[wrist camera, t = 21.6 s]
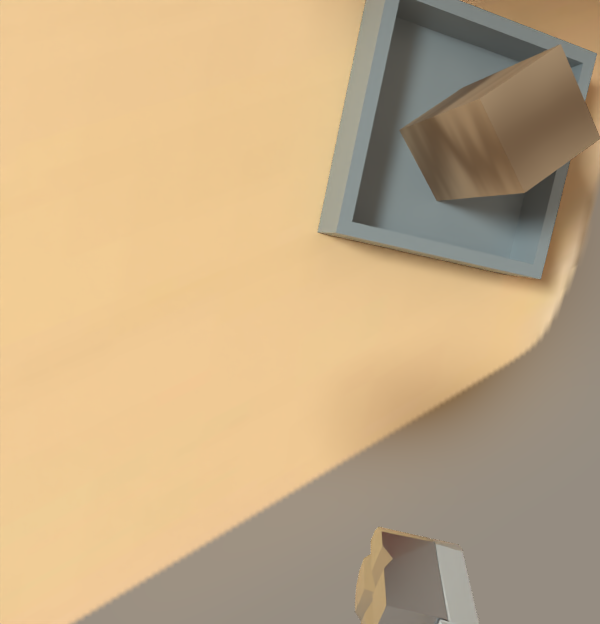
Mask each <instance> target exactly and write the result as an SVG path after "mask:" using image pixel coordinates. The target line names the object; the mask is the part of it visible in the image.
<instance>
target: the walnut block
mask: <svg viewBox="0 0 600 624" xmlns="http://www.w3.org/2000/svg"><path fill="white" fill-rule="evenodd" d="M399 131H400V132H401V134H402V136H403V138H404V140H405V142H406V144H407V146H408V148H409V150H410V151H411V153H412V155H413V157H414V159H415V161H416V163H417V165H418V167H419V168H420V170H421V172H422V174H423V176H424V178H425V180H426V182H427V184H428V185H429V187H430V189H431V191H432V193H433V195H434V197H435V199H436V201H441V200H452V199H463V198H474V197H485V196H496V195H507V194H518V193H525V192H527V191H528V190H529V189H531V188H532V187H534V186H535V185H536V184H538V183H539V182H541V181H542V180H543V179H545V178H546V177H548V176H549V175H550V174H552V173H553V172H555V171H556V170H557V169H559V168H560V167H562V166H563V165H564V164H566V163H567V162H569V161H570V160H571V159H573V158H574V157H575V156H577V155H578V154H580V153H581V152H582V151H584V150H585V149H587V148H588V147H589V146H591V145H592V144H594V143H595V142H596V141H598V140H599V139H600V136H599V134H598V131H597V129H596V127H595V124H594V122H593V119H592V117H591V115H590V112H589V110H588V107H587V105H586V103H585V100H584V98H583V96H582V93H581V91H580V88H579V86H578V84H577V81H576V79H575V77H574V74H573V72H572V69H571V67H570V65H569V62H568V60H567V57H566V55H565V53H564V50H563V48H562V46H561V44H560V45H557V46H555V47H553V48H551V49H548V50H546V51H544V52H542V53H539V54H537V55H535V56H533V57H530V58H528V59H526V60H524V61H521V62H519V63H517V64H515V65H512V66H510V67H508V68H506V69H503V70H501V71H499V72H497V73H494V74H492V75H490V76H488V77H485V78H483V79H481V80H479V81H476V82H474V83H472V84H470V85H467V86H465V87H463V88H461V89H460V90H458V91H457V92H455V93H454V94H452V95H451V96H449V97H448V98H446V99H445V100H443V101H442V102H440V103H439V104H437V105H436V106H434V107H433V108H431V109H430V110H428V111H427V112H425V113H424V114H422V115H421V116H419V117H418V118H416V119H415V120H413V121H412V122H410V123H409V124H407V125H406V126H404V127H403V128H401V129H400V130H399Z"/></svg>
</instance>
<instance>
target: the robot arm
mask: <svg viewBox="0 0 600 624" xmlns="http://www.w3.org/2000/svg"><path fill="white" fill-rule="evenodd" d="M355 613H356V614H357V616H358V618H359V619H360V621H361V624H479V620H478V616H477V611H476V607H475V602H474V599H473V594H472V590H471V585H470V581H469V576H468V572H467V568H466V564H465V559H464V555H463V550H462V549H461V547H460V546H459V545H458V544H454V543H449V542H445V541H440V540H436V539H430V538H427V537H422V536H418V535H413V534H409V533H404V532H399V531H395V530H390V529H386V528H382V527H378V528H377V529H376V530H375V532H374V535H373V537H372V539H371V554H370V555H368V556H367V557H365V558H364V559H363V562H362V565H361V568H360V571H359V575H358V581H357V585H356V595H355Z"/></svg>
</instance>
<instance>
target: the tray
mask: <svg viewBox="0 0 600 624" xmlns="http://www.w3.org/2000/svg"><path fill="white" fill-rule="evenodd" d="M560 44H561V46H562V48H563V50H564V53H565V55H566V57H567V60H568V62H569V65H570V67H571V69H572V72H573V74H574V77H575V79H576V81H577V84H578V86H579V88H580V91H581V93H582V96H583V98H584V100H586V96H587V92H588V88H589V84H590V79H591V75H592V71H593V67H594V63H595V59H596V55H597V53H594V52H592V51H589V50H587V49H584V48H581V47H579V46H576V45H574V44H571V43H568V42H566V41H563V40H561V39H558V38H555V37H553V36H550V35H548V34H545V33H543V32H540V31H537V30H535V29H532V28H530V27H527V26H524V25H522V24H519V23H517V22H514V21H511V20H509V19H506V18H504V17H501V16H498V15H496V14H493V13H491V12H488V11H486V10H483V9H480V8H478V7H475V6H473V5H470V4H467V3H465V2H462V1H460V0H366V2H365V7H364V11H363V16H362V21H361V26H360V31H359V35H358V40H357V45H356V50H355V55H354V59H353V64H352V69H351V74H350V79H349V83H348V88H347V93H346V98H345V103H344V108H343V112H342V117H341V122H340V127H339V132H338V136H337V141H336V146H335V151H334V156H333V160H332V165H331V170H330V175H329V180H328V184H327V189H326V194H325V199H324V204H323V208H322V213H321V218H320V223H319V228H318V233H323V234H327V235H332V236H336V237H341V238H345V239H350V240H354V241H358V242H363V243H367V244H372V245H376V246H381V247H385V248H390V249H394V250H398V251H403V252H407V253H412V254H416V255H421V256H425V257H430V258H434V259H438V260H443V261H447V262H452V263H456V264H461V265H465V266H470V267H474V268H478V269H483V270H487V271H492V272H496V273H501V274H505V275H512V276H519V277H527V278H534V279H541V276H542V272H543V268H544V264H545V260H546V256H547V252H548V248H549V244H550V240H551V236H552V232H553V228H554V224H555V220H556V216H557V212H558V208H559V204H560V200H561V196H562V192H563V188H564V184H565V180H566V176H567V172H568V168H569V164H570V161H569V162H567V163H566V164H564V165H563V166H562V167H560V168H559V169H557V170H556V171H555V172H553V173H552V174H550V175H549V176H548V177H546V178H545V179H543V180H542V181H541V182H539V183H538V184H536V185H535V186H534V187H532V188H531V189H529V190H528V191H527V192H525V193H518V194H507V195H496V196H485V197H474V198H463V199H452V200H441V201H436V199H435V197H434V195H433V193H432V191H431V189H430V187H429V185H428V184H427V182H426V180H425V178H424V176H423V174H422V172H421V170H420V168H419V167H418V165H417V163H416V161H415V159H414V157H413V155H412V153H411V151H410V150H409V148H408V146H407V144H406V142H405V140H404V138H403V136H402V134H401V132H400V131H399V130H400V129H401V128H403V127H404V126H406V125H407V124H409V123H410V122H412V121H413V120H415V119H416V118H418V117H419V116H421V115H422V114H424V113H425V112H427V111H428V110H430V109H431V108H433V107H434V106H436V105H437V104H439V103H440V102H442V101H443V100H445V99H446V98H448V97H449V96H451V95H452V94H454V93H455V92H457V91H458V90H460V89H461V88H463V87H465V86H467V85H470V84H472V83H474V82H476V81H479V80H481V79H483V78H485V77H488V76H490V75H492V74H494V73H497V72H499V71H501V70H503V69H506V68H508V67H510V66H512V65H515V64H517V63H519V62H521V61H524V60H526V59H528V58H530V57H533V56H535V55H537V54H539V53H542V52H544V51H546V50H548V49H551V48H553V47H555V46H557V45H560Z"/></svg>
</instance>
